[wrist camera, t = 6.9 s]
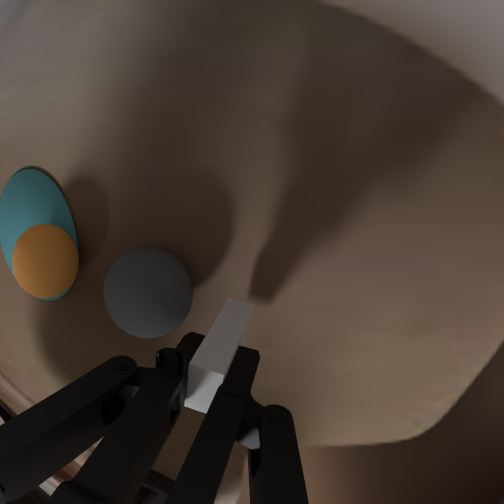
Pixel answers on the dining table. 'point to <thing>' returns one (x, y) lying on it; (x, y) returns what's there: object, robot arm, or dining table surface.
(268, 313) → the dining table surface
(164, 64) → the dining table surface
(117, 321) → the charcoal ball
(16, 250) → the orange ball
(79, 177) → the dining table surface
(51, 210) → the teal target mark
